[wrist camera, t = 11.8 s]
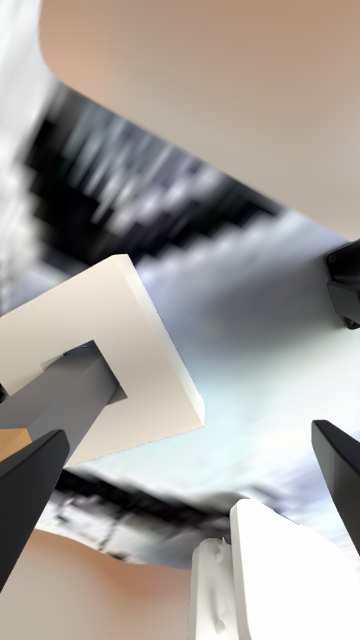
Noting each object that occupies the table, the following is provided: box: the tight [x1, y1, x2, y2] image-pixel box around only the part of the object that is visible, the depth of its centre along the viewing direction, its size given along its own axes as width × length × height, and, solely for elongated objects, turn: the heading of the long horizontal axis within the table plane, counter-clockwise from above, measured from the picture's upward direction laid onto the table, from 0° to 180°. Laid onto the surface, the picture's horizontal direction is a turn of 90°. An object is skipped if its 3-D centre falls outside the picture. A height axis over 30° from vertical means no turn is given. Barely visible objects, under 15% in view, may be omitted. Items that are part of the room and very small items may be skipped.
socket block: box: [0, 254, 205, 468], centre depth 22 cm, size 16×16×3 cm
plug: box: [0, 346, 120, 467], centre depth 17 cm, size 4×4×13 cm
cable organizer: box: [187, 498, 360, 640], centre depth 22 cm, size 15×11×12 cm
